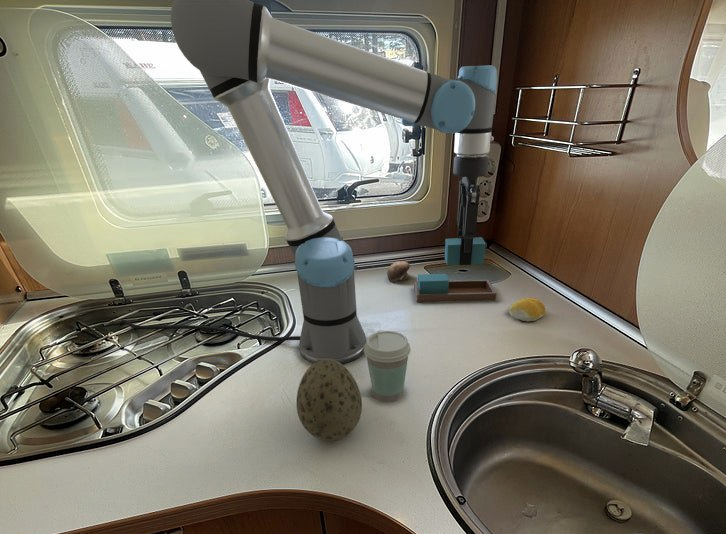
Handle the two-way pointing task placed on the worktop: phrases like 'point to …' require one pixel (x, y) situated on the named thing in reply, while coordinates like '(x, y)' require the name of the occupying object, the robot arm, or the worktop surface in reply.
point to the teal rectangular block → (454, 251)
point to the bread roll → (527, 309)
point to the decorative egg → (328, 400)
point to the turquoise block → (433, 283)
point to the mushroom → (398, 271)
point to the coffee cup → (387, 364)
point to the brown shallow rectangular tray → (460, 292)
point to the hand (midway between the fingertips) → (463, 260)
